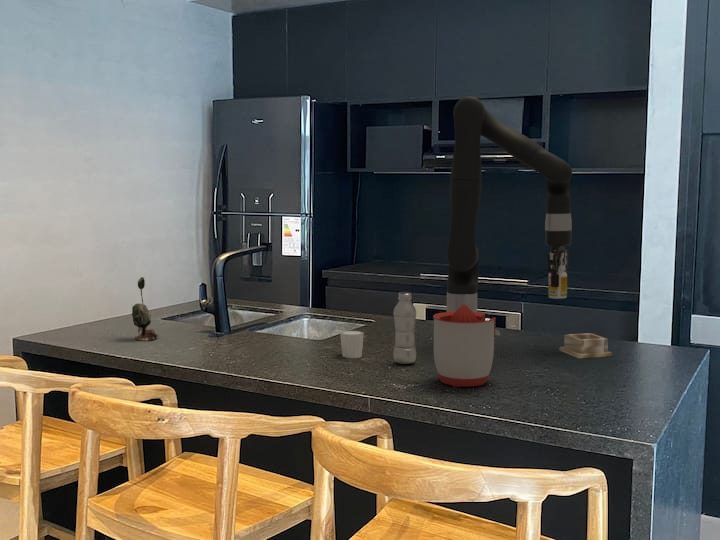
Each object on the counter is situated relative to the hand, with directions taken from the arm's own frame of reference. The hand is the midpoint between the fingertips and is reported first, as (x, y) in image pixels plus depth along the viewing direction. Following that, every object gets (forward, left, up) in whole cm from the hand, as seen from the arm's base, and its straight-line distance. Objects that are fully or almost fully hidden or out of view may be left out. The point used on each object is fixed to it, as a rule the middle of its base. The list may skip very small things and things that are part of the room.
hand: (557, 285), depth 227 cm
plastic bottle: (-49, -3, -20) cm, 53 cm away
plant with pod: (-120, +51, -20) cm, 132 cm away
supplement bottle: (0, 0, -4) cm, 4 cm away
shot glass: (-61, +10, -20) cm, 65 cm away
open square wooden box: (+7, -4, -20) cm, 22 cm away
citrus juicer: (-40, -26, -20) cm, 52 cm away
